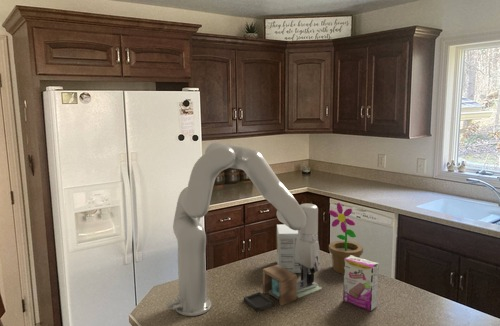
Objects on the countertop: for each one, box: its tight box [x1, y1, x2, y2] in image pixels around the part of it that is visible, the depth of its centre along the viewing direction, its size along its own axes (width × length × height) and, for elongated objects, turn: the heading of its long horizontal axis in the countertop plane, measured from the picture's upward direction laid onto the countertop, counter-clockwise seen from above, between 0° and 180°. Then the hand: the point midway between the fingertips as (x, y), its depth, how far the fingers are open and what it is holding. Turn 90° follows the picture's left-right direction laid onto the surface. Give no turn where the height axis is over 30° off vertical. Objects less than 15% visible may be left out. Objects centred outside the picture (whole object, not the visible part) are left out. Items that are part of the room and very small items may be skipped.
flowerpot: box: [328, 202, 364, 275], centre depth 170 cm, size 14×14×30 cm
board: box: [297, 285, 323, 299], centre depth 155 cm, size 12×10×1 cm
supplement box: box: [276, 223, 301, 274], centre depth 174 cm, size 13×13×18 cm
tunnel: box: [262, 264, 298, 306], centre depth 149 cm, size 7×11×10 cm, turn 33°
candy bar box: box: [342, 255, 380, 312], centre depth 142 cm, size 11×5×16 cm, turn 47°
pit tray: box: [243, 291, 275, 312], centre depth 144 cm, size 7×9×2 cm
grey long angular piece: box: [268, 266, 318, 300], centre depth 152 cm, size 19×6×8 cm, turn 123°
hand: (307, 280), depth 156 cm, fingers closed on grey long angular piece, 2 cm apart
